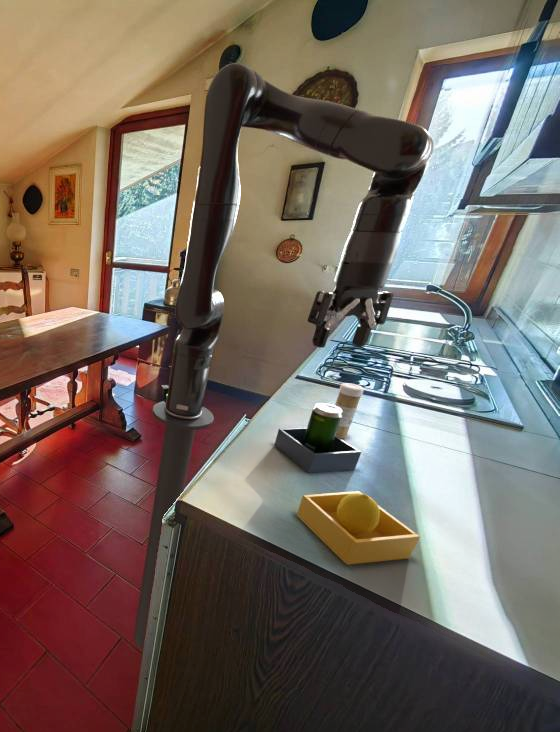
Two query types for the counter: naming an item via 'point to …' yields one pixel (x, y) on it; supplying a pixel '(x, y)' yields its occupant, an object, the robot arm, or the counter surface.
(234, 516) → the counter surface
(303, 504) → the yellow bin
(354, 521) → the lemon
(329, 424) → the beer can
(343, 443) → the slate bin
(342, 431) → the sprinkles bottle
